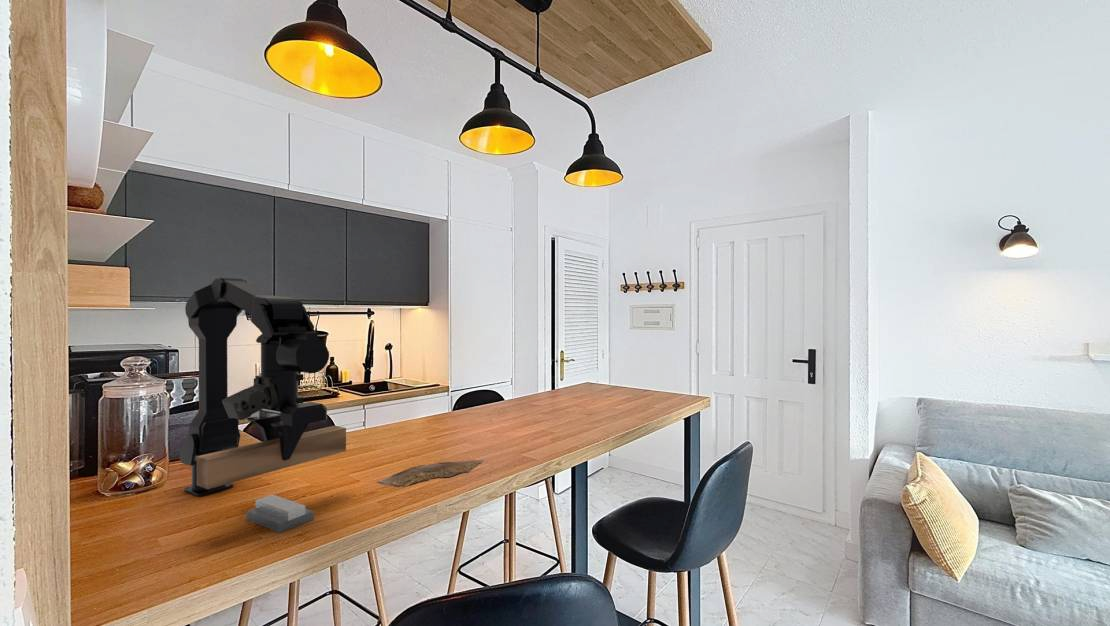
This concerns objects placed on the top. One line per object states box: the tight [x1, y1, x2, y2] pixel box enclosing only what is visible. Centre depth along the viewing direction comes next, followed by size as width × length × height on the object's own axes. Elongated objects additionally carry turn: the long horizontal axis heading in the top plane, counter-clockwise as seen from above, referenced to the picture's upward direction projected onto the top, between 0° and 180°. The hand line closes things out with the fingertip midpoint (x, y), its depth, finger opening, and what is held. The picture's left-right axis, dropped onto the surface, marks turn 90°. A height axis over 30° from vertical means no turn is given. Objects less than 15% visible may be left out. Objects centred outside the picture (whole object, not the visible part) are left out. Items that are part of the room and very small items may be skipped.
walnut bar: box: [197, 425, 347, 489], centre depth 86 cm, size 4×24×4 cm, turn 149°
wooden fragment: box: [376, 459, 484, 488], centre depth 112 cm, size 26×11×1 cm, turn 126°
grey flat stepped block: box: [246, 494, 314, 534], centre depth 86 cm, size 10×6×3 cm, turn 60°
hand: (279, 458), depth 86 cm, fingers closed on walnut bar, 3 cm apart
